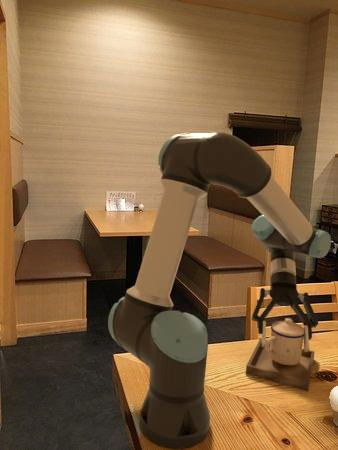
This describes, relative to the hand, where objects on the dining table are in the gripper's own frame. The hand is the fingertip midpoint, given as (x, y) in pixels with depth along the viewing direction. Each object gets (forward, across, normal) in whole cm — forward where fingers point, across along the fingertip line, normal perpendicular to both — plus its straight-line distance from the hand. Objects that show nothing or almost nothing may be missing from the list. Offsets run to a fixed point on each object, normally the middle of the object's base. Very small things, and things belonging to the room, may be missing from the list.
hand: (285, 348), depth 103 cm
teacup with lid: (+2, 0, -6) cm, 6 cm away
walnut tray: (+3, 0, -7) cm, 8 cm away
